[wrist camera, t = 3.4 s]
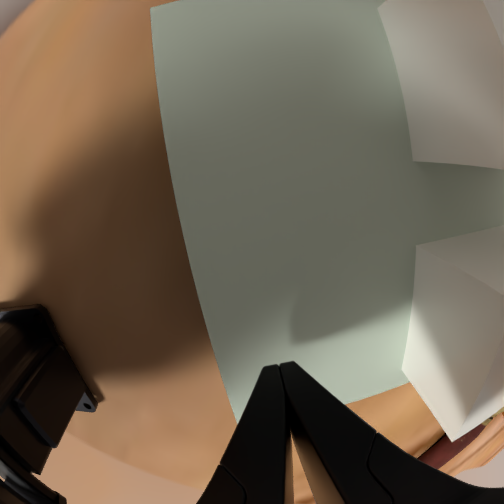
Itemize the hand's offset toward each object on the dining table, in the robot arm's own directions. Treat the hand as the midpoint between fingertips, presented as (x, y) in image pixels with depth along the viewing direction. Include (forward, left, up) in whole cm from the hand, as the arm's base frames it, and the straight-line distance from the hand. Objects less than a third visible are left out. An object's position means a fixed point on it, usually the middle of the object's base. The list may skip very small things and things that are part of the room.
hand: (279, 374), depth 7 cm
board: (+5, +3, -4) cm, 7 cm away
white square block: (+7, 0, -1) cm, 7 cm away
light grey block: (+7, +7, -1) cm, 10 cm away
